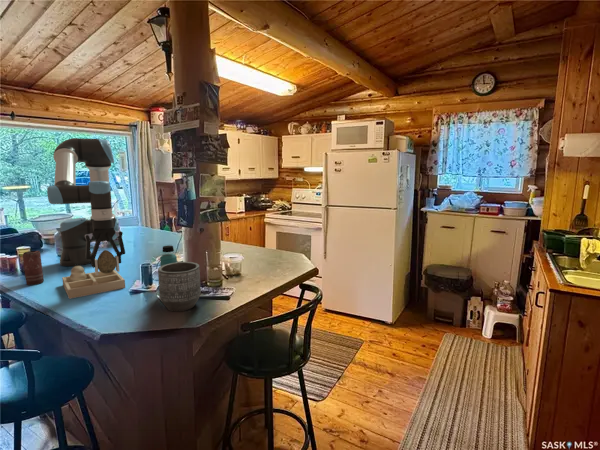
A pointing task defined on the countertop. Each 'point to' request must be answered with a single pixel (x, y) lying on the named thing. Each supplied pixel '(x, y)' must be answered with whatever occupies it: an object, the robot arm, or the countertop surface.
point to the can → (33, 267)
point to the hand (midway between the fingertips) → (107, 272)
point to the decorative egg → (106, 262)
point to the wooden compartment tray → (93, 284)
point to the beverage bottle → (168, 256)
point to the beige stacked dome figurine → (77, 274)
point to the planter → (179, 285)
